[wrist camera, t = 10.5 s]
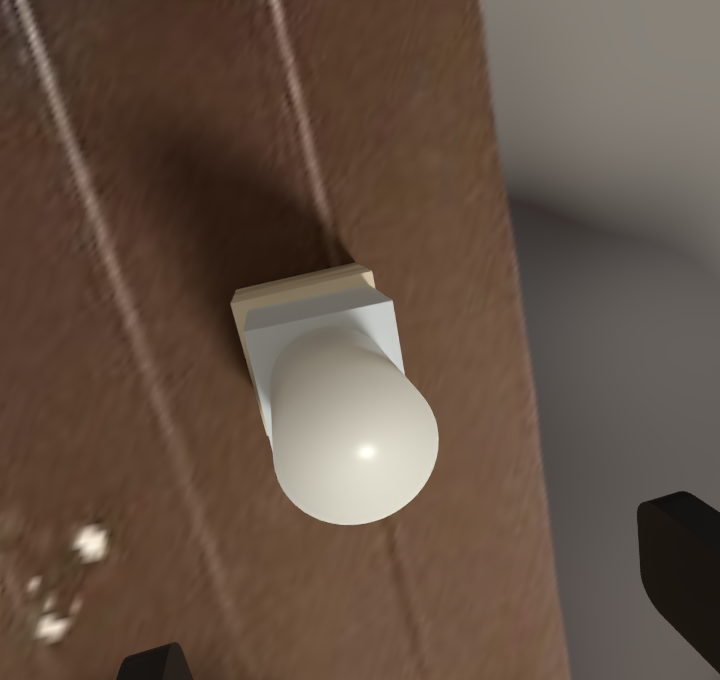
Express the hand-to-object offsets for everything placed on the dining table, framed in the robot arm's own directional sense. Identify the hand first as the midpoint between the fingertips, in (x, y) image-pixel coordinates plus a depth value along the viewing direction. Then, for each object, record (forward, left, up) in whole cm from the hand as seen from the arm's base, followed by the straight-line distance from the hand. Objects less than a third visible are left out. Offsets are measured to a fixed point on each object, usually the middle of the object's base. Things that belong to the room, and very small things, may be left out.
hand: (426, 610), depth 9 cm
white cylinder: (0, 0, -13) cm, 13 cm away
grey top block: (0, 0, -18) cm, 18 cm away
